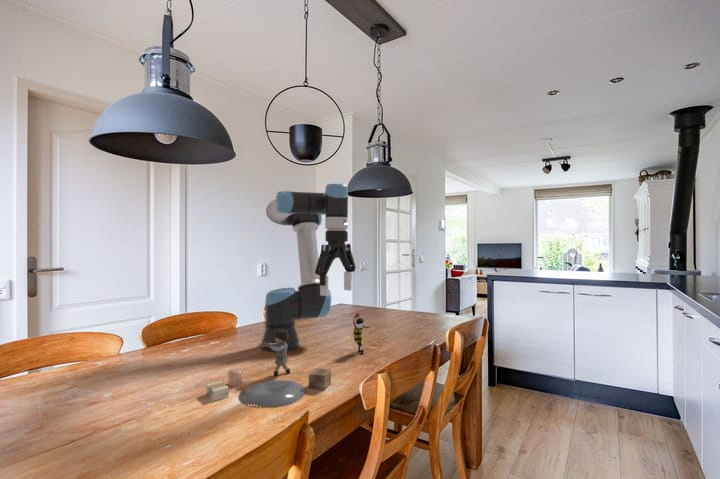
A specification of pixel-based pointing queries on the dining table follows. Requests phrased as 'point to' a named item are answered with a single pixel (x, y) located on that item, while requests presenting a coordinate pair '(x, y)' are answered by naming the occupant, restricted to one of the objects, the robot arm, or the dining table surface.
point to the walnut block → (320, 379)
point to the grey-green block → (217, 390)
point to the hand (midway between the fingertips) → (336, 292)
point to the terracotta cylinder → (235, 377)
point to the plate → (272, 393)
